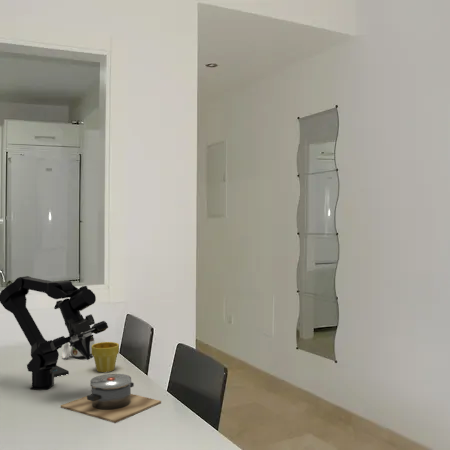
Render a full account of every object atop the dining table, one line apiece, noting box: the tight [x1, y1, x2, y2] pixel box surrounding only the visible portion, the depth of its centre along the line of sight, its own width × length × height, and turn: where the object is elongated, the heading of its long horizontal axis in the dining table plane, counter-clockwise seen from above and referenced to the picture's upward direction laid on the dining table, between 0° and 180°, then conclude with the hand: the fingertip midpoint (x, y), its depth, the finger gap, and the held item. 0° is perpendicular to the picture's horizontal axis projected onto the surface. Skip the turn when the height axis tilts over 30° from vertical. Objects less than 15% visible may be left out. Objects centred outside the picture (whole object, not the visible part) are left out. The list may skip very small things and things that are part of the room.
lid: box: [89, 373, 132, 390], centre depth 173 cm, size 13×13×2 cm
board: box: [60, 393, 162, 424], centre depth 173 cm, size 24×20×1 cm
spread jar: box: [61, 332, 95, 360], centre depth 232 cm, size 12×11×12 cm
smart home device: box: [52, 364, 69, 378], centre depth 213 cm, size 8×2×20 cm
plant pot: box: [92, 341, 120, 373], centre depth 213 cm, size 10×10×10 cm
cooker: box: [86, 381, 135, 410], centre depth 173 cm, size 12×17×6 cm
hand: (88, 359), depth 182 cm, fingers closed
